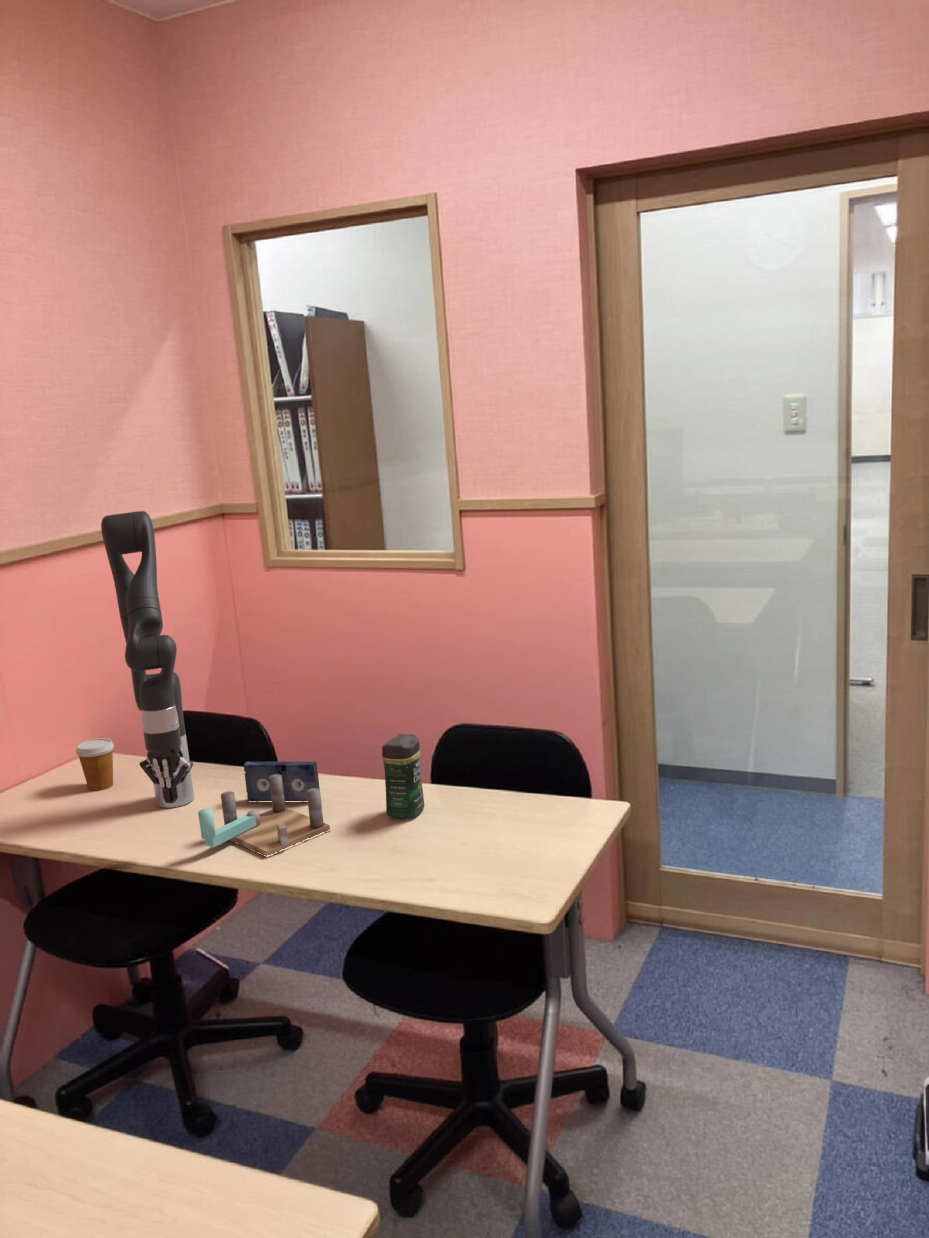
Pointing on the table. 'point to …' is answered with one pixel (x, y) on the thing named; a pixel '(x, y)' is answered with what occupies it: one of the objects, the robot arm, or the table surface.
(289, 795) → the vhs cassette tape
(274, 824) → the stool seat
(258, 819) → the hinged leg
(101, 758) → the disposable coffee cup
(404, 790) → the coffee jar
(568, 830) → the table surface
